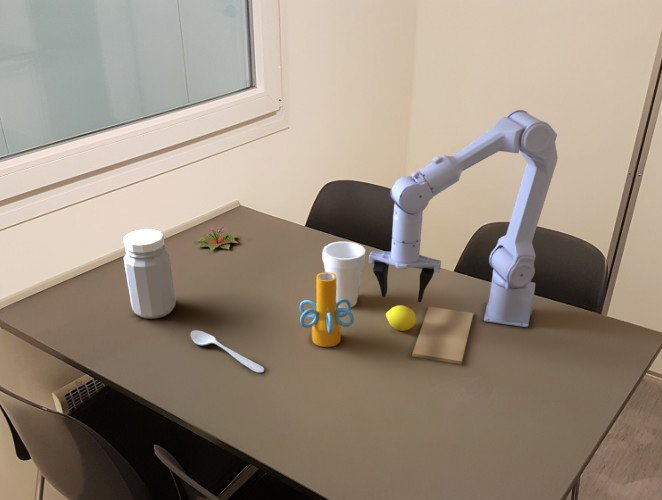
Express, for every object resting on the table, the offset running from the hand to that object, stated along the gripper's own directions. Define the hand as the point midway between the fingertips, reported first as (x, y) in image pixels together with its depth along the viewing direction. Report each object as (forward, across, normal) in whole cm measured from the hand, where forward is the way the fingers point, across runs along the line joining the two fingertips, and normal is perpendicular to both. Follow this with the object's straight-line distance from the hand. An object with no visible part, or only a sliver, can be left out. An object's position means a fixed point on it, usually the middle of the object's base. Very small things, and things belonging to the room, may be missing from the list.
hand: (402, 297), depth 147 cm
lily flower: (+8, -56, +29) cm, 64 cm away
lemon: (+8, 0, 0) cm, 8 cm away
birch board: (+8, +10, 0) cm, 12 cm away
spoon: (+8, -32, -20) cm, 39 cm away
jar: (+8, -55, -8) cm, 56 cm away
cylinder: (+8, -14, -9) cm, 18 cm away
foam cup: (+8, -15, +8) cm, 19 cm away
